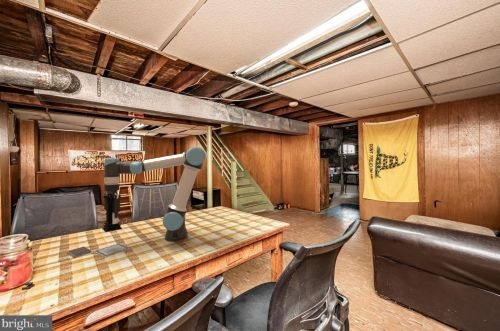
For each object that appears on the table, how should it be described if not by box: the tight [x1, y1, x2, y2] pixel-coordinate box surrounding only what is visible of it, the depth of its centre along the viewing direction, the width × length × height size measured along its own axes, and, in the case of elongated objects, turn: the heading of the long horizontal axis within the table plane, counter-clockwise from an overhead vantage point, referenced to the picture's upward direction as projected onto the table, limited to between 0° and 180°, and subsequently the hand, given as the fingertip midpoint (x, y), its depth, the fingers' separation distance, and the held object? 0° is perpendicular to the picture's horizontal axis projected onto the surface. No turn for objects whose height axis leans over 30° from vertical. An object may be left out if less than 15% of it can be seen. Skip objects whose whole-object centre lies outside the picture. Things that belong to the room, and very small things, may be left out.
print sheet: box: [93, 242, 132, 258], centre depth 122 cm, size 14×14×1 cm
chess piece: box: [101, 195, 123, 233], centre depth 122 cm, size 8×8×20 cm
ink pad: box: [66, 246, 92, 258], centre depth 118 cm, size 8×10×2 cm
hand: (112, 222), depth 122 cm, fingers closed on chess piece, 7 cm apart
